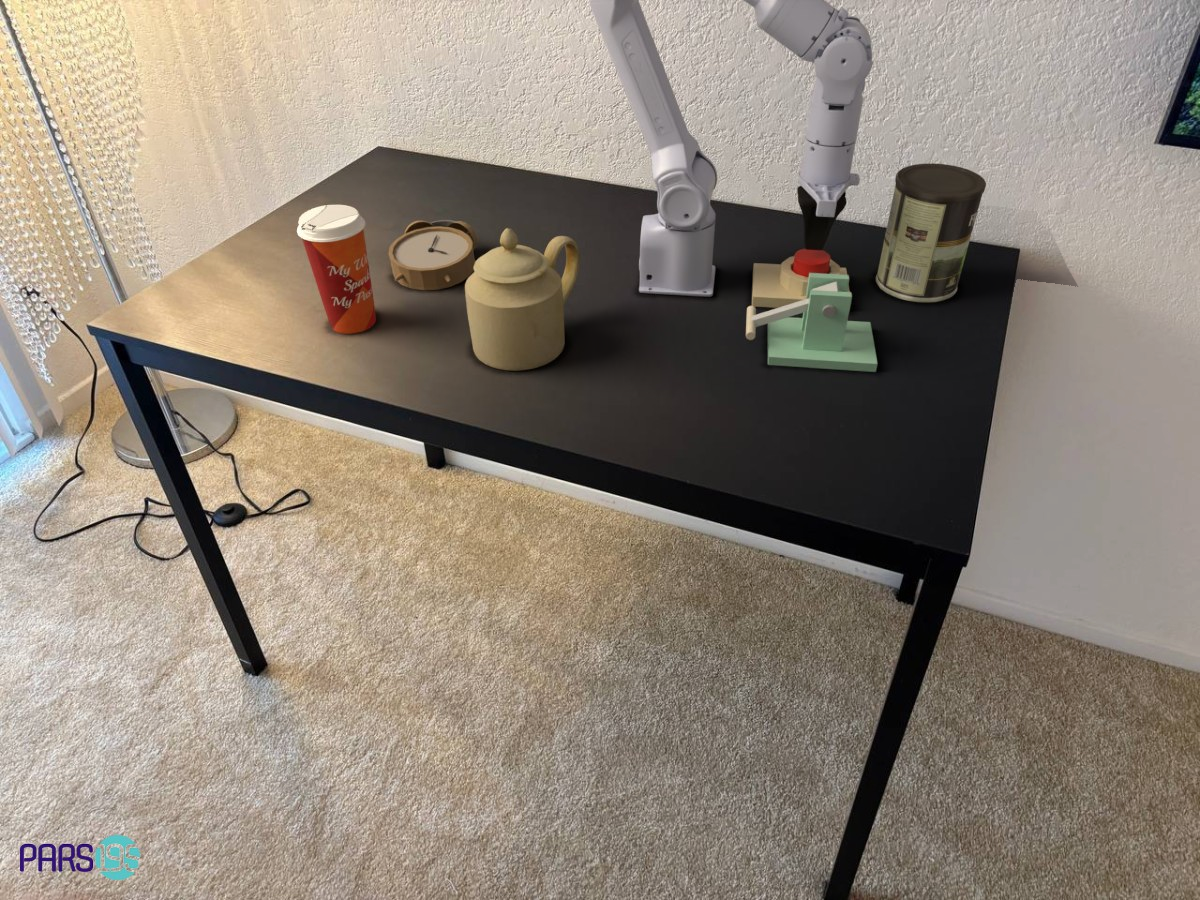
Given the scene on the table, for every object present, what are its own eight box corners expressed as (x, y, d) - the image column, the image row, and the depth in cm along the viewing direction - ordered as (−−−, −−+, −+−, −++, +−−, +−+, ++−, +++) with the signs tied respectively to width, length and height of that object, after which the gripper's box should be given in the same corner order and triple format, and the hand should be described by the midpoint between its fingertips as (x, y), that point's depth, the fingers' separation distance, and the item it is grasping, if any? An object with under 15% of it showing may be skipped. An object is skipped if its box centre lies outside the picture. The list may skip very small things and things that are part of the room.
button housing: (751, 306, 108) (754, 282, 106) (752, 272, 115) (755, 248, 113) (849, 312, 107) (854, 287, 105) (844, 277, 114) (848, 253, 111)
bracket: (767, 365, 98) (775, 301, 93) (767, 324, 105) (775, 262, 100) (875, 372, 97) (890, 307, 91) (868, 330, 104) (881, 268, 98)
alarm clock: (377, 270, 111) (404, 203, 121) (386, 300, 115) (411, 233, 125) (462, 273, 110) (483, 205, 120) (468, 303, 114) (488, 235, 124)
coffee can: (952, 268, 115) (980, 164, 106) (961, 306, 107) (992, 198, 98) (872, 262, 117) (893, 160, 108) (876, 299, 109) (899, 193, 100)
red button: (793, 278, 108) (795, 263, 106) (792, 261, 111) (794, 247, 110) (829, 280, 107) (831, 265, 106) (827, 263, 110) (829, 249, 109)
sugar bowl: (502, 302, 111) (490, 189, 101) (584, 311, 108) (581, 197, 99) (458, 365, 99) (440, 245, 90) (549, 377, 97) (541, 256, 88)
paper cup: (353, 344, 103) (328, 236, 94) (308, 328, 106) (279, 221, 98) (398, 315, 108) (377, 210, 99) (353, 300, 112) (330, 197, 103)
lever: (749, 345, 99) (742, 329, 97) (750, 319, 103) (743, 302, 102) (844, 317, 95) (838, 299, 93) (841, 290, 99) (835, 272, 98)
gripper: (872, 163, 92) (850, 277, 101) (861, 117, 103) (842, 223, 112) (805, 160, 93) (789, 273, 102) (801, 115, 104) (787, 221, 113)
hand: (813, 247), depth 107 cm, fingers closed
